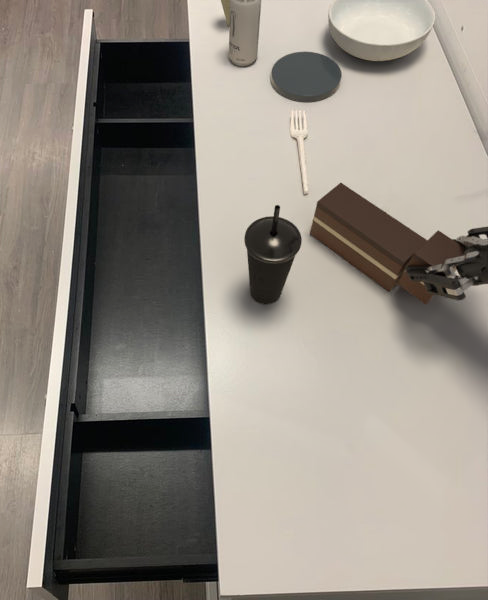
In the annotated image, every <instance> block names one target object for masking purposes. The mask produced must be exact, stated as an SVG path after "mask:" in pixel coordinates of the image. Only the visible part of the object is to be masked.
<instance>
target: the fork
mask: <svg viewBox="0 0 488 600" xmlns="http://www.w3.org/2000/svg"><path fill="white" fill-rule="evenodd" d="M302 113H303V114H302ZM302 115H303V116H302ZM294 116H295V117H294ZM306 116H307V115H306V109H303V112H302V110H301V109H299V111H298V109H295V115H294V109H292V110H291V115H290V126H289V127H290V128H289V135H290V137H292V138H295V139H296V140H297V147H298V148H297V149H298V155H299V156H298V157H299V164H300V165H299V166H300V173H301V181H302V189H303V194H304V195H308V194H309V186H308V185H309V184H308V177H307V174H308V173H307V165H306V163H307V162H306V153H305V143H304V142H305V141H304V139H305V138H306V137H308V136H309V132H308V124H307V117H306ZM294 118H295V119H294ZM294 121H295V122H294Z"/></svg>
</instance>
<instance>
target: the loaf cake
mask: <svg viewBox="0 0 488 600" xmlns="http://www.w3.org/2000/svg"><path fill="white" fill-rule="evenodd" d="M309 230H310V231H309V234H310V235H311V236H312V237H314V238H315V239H317V240H318V241H319V242H321V243H322V244H323V245H324V246H326V247H328V248H329V249H330V250H331V251H333V252H334V253H335V254H337V255H338V256H340V257H341V258H342V259H343V260H344V261H346V262H348V263H349V264H350V265H352V267H354V268H356V269H357V270H358V271H360V272H361V273H363V274H364V275H365V276H366V277H368V278H369V279H371V280H372V281H373V282H374V283H376V284H377V285H379V286H380V287H381V288H382V289H384V290H385V291H387V292H388V293H390V292H391V291H392V290H393V289H394V288H395V287H396V286H397V285H398V282H399V280H400V278H401V277H402V275H403V273H404V271H405V268H406V267H407V265H408V264H409V262H410V260H411V258H412V256H413V254H414V253H415V252H416V251H417V250H418V249H419V248H420V247H421V246H422V245H423V244H424V243H425V242H426V241H427V240H428V239H426V238H424V237H423V236H422V235H421V234H419V233H418V232H416V231H414V230H413V229H412V228H410V227H408V226H407V225H405V224H404V223H402V222H401V221H400V220H398V219H397V218H395V217H394V216H392V215H390V214H389V213H387V212H386V211H384V210H383V209H382V208H380V207H378V206H377V205H375V204H374V203H372V202H371V201H369V200H368V199H367V198H365V197H363V196H361V194H359V193H357V192H356V191H355V190H353V189H351V188H350V187H348V186H347V185H346V184H344V183H343V182H340V183H338V184H337V185H335V186H334V187H333V188H332V189H331V190H330V191H328V192H327V193H325V195H323V196H322V197H320V199H318V200H317V201H316V206H315V210H314V214H313V218H312V223H311V226H310V229H309Z"/></svg>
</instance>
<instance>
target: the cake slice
mask: <svg viewBox="0 0 488 600" xmlns="http://www.w3.org/2000/svg"><path fill="white" fill-rule="evenodd" d="M452 239H453V238H451V237H449V236H448V235H447V234H445V233H444V232H442V231H440V230H439V229H437V231H436V232H435V233H433V234H432V235H431V236H430V237H429V238H428V239H426V240H427V241H426V242H425V243H424V244H423V245H422V246H421V247H420V248H419V249H418V250H417V251H416V252H415V253H414V254H413V256H412V258H411V260H410V262H409V264H408V265H407V266H409V265H424V266H433V265H438V264H443V263H444V261H445V260H446V259H450V258H455V257H460V256H462V255H463V254H464V252H465V251H466V250H467V249H466V248H465V247H463V246H462V245H460V244H458V243H457V242H455V241H454V240H452ZM452 267H453V269H454V272H455V273H456V271H457V269H456V265H455V266H452ZM437 274H438V276H443V277H445V276H446V274H445V272H443V271H441V272H437ZM397 285H398V286H400V287H401V288H403V290H405V291H406V292H407V293H409V294H410V295H412V296H414V297H415V298H416V299H418V300H419V301H420V302H421V303H423V304H424V305H427V304H428V303H429V302H430V301H431V300H432V299H433V298H434V297H435V296H436V295H433V294H429V293H428V292H427V290H426V287H425V285H424V283H423V282H416V281H411V280H410V279H409V277H408V275H407V273H406V271H404V273H403V275H402V277H401V278H400V280H399V282H398V284H397Z"/></svg>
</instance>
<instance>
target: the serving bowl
mask: <svg viewBox="0 0 488 600" xmlns="http://www.w3.org/2000/svg"><path fill="white" fill-rule="evenodd" d="M327 16H328V17H327V18H328V20H327V21H328V28H329V32H330V35H331V37H332V39H333V40H334V42H335V43H336V44H337V46H339V47H340V48H341V49H342V50H343V51H345V52H346V53H348V54H349V55H351V56H353V57H356V58H359V59H362V60H365V61H372V62H385V61H392V60H396V59H399V58H402V57H405V56H406V55H408V54H410V53H412V52H415V50H416V49H418V48H419V47H420V46H421V45H422V44H423V43H425V41H426V39H427V38H428V36H429V35H430V33H431V31H432V30H433V28H434V25H435V22H436V13H435V10H434V7H433V6H432V4H431V3H430V2H429V1H428V0H332V2H331V3H330V5H329V8H328V15H327Z"/></svg>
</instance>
